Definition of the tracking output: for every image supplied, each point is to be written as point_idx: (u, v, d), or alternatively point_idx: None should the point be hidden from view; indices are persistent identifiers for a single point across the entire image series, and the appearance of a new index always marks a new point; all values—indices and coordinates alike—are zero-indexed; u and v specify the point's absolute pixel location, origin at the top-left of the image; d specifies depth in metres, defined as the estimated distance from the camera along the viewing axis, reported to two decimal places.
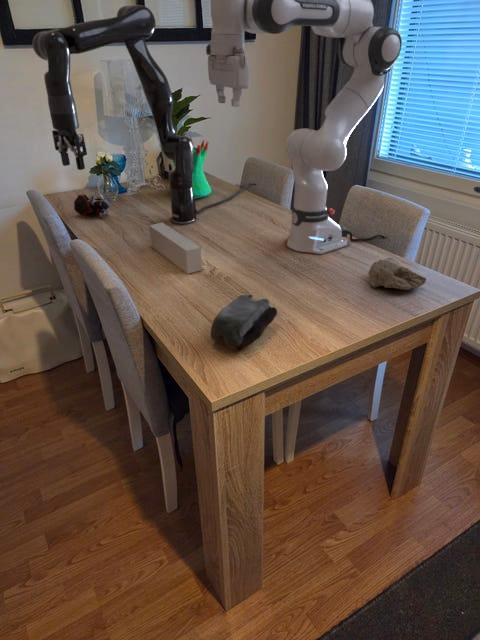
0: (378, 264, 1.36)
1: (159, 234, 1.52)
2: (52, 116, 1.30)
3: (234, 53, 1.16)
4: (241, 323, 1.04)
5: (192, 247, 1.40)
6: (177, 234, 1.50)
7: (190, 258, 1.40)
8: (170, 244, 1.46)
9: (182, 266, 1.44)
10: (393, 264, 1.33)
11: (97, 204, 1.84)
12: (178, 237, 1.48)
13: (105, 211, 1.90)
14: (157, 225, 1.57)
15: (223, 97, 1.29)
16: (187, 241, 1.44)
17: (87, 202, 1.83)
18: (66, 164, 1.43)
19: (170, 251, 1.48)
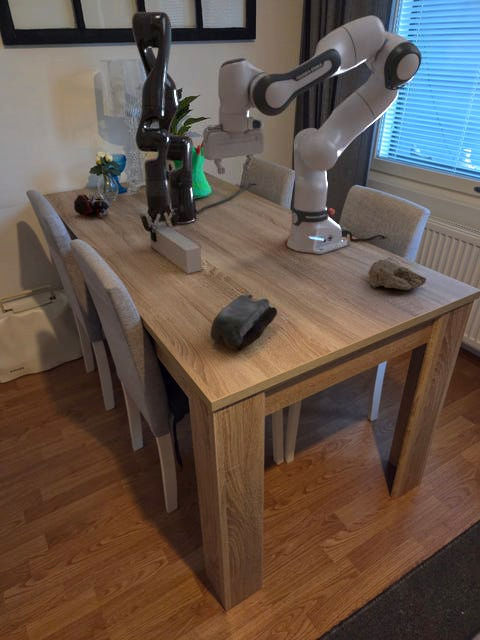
0: (378, 264, 1.36)
1: (159, 234, 1.52)
2: None
3: None
4: (241, 323, 1.04)
5: (192, 247, 1.40)
6: (177, 234, 1.50)
7: (190, 258, 1.40)
8: (170, 244, 1.46)
9: (182, 266, 1.44)
10: (393, 264, 1.33)
11: (97, 204, 1.84)
12: (178, 237, 1.48)
13: (105, 211, 1.90)
14: None
15: (245, 165, 1.38)
16: (187, 241, 1.44)
17: (87, 202, 1.83)
18: None
19: (170, 251, 1.48)
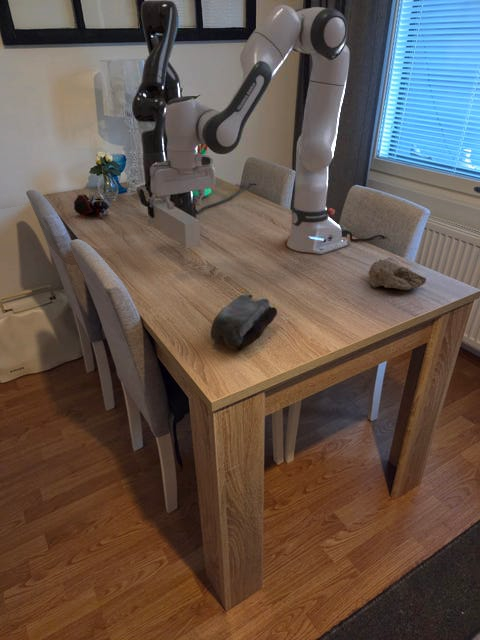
0: (378, 264, 1.36)
1: (156, 209, 1.48)
2: None
3: None
4: (241, 323, 1.04)
5: (191, 220, 1.36)
6: (175, 208, 1.45)
7: (189, 232, 1.36)
8: (168, 218, 1.42)
9: (181, 241, 1.39)
10: (393, 264, 1.33)
11: (97, 204, 1.84)
12: (176, 211, 1.43)
13: (105, 211, 1.90)
14: (155, 200, 1.53)
15: (196, 199, 1.36)
16: (186, 215, 1.40)
17: (87, 202, 1.83)
18: None
19: (168, 226, 1.44)
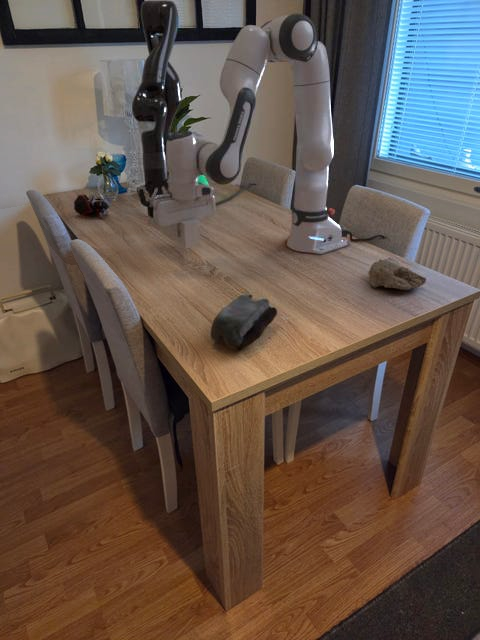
0: (378, 264, 1.36)
1: None
2: None
3: None
4: (241, 323, 1.04)
5: (190, 220, 1.36)
6: None
7: (189, 232, 1.36)
8: None
9: (180, 241, 1.39)
10: (393, 264, 1.33)
11: (97, 204, 1.84)
12: None
13: (105, 211, 1.90)
14: None
15: None
16: None
17: (87, 202, 1.83)
18: None
19: (168, 226, 1.44)
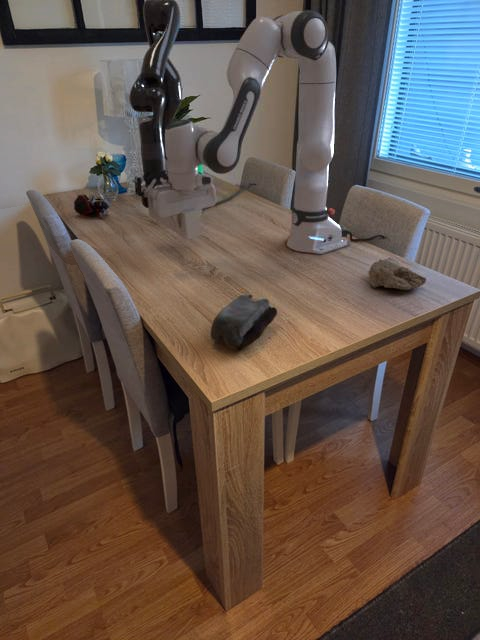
0: (378, 264, 1.36)
1: None
2: None
3: None
4: (241, 323, 1.04)
5: (191, 211, 1.34)
6: None
7: (190, 223, 1.34)
8: None
9: (181, 232, 1.38)
10: (393, 264, 1.33)
11: (97, 204, 1.84)
12: None
13: (105, 211, 1.90)
14: None
15: None
16: None
17: (87, 202, 1.83)
18: None
19: (169, 218, 1.42)
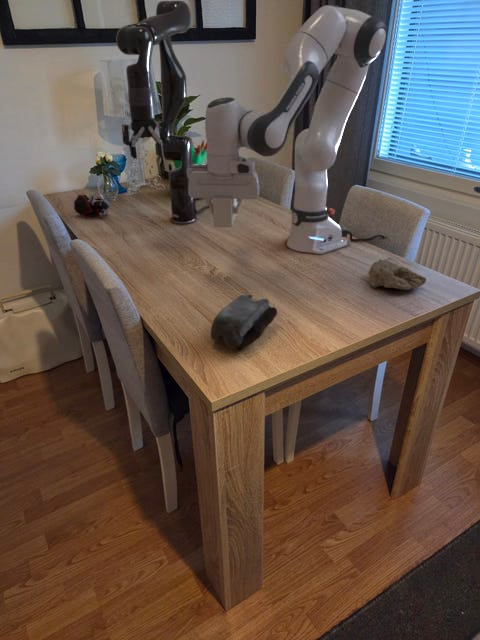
0: (378, 264, 1.36)
1: None
2: None
3: None
4: (241, 323, 1.04)
5: (223, 198, 1.24)
6: None
7: (218, 210, 1.25)
8: None
9: None
10: (393, 264, 1.33)
11: (97, 204, 1.84)
12: None
13: (105, 211, 1.90)
14: None
15: None
16: None
17: (87, 202, 1.83)
18: (157, 154, 1.50)
19: None
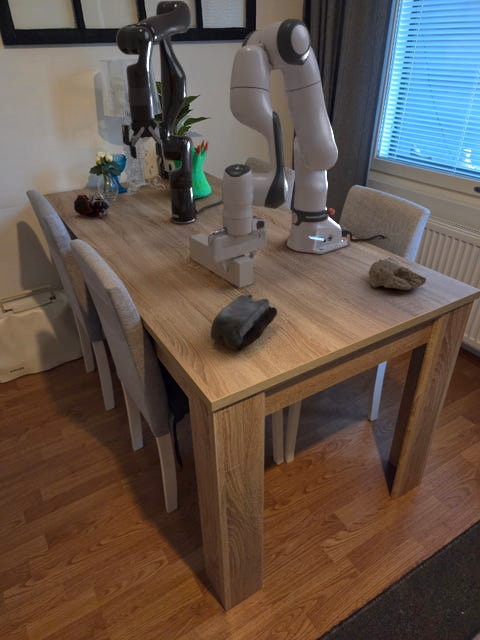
0: (378, 264, 1.36)
1: (202, 246, 1.43)
2: None
3: None
4: (241, 323, 1.04)
5: (244, 260, 1.32)
6: None
7: (243, 272, 1.32)
8: None
9: (233, 280, 1.35)
10: (393, 264, 1.33)
11: (97, 204, 1.84)
12: None
13: (105, 211, 1.90)
14: (198, 236, 1.48)
15: None
16: None
17: (87, 202, 1.83)
18: (157, 154, 1.50)
19: (217, 264, 1.40)
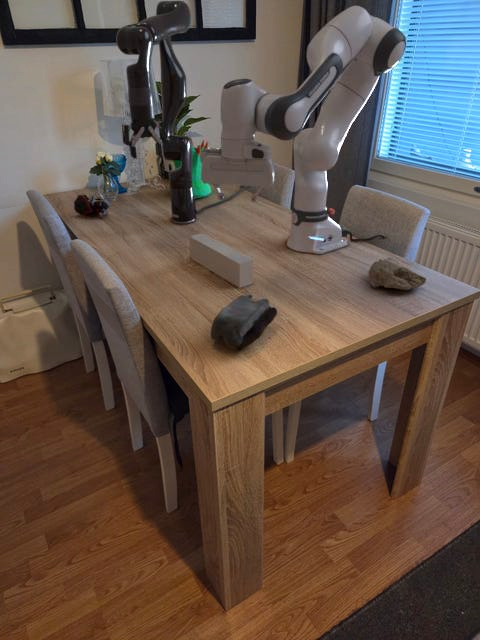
0: (378, 264, 1.36)
1: (202, 246, 1.43)
2: None
3: None
4: (241, 323, 1.04)
5: (244, 260, 1.32)
6: (223, 245, 1.41)
7: (243, 272, 1.32)
8: (218, 256, 1.38)
9: (233, 280, 1.35)
10: (393, 264, 1.33)
11: (97, 204, 1.84)
12: (225, 249, 1.39)
13: (105, 211, 1.90)
14: (198, 236, 1.48)
15: None
16: (237, 253, 1.36)
17: (87, 202, 1.83)
18: (157, 154, 1.50)
19: (217, 264, 1.40)
